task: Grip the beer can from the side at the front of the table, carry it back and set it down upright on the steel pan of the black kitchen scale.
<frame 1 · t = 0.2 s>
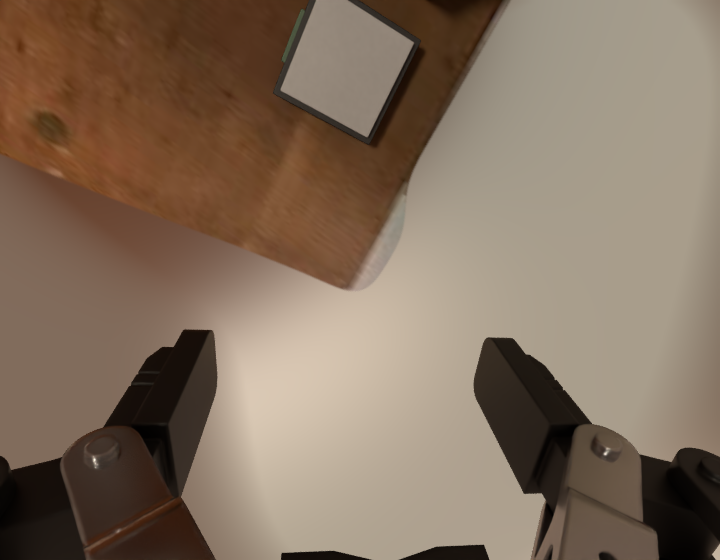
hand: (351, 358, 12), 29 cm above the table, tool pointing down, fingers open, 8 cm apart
kitchen scale: (344, 68, 35), on the table
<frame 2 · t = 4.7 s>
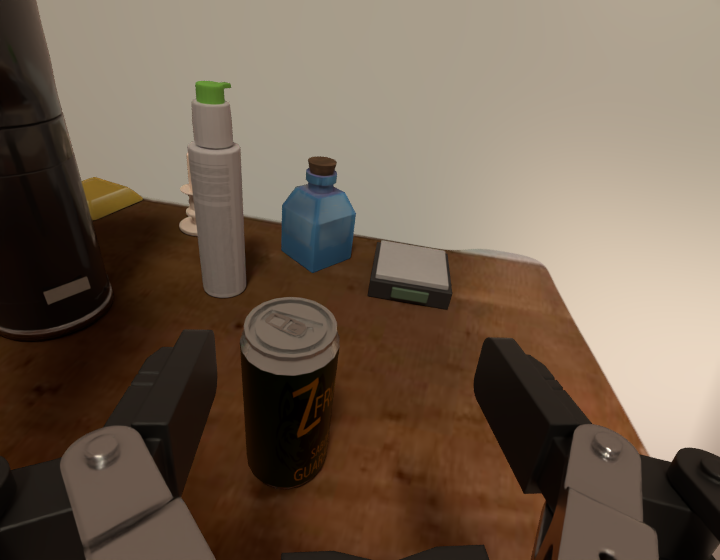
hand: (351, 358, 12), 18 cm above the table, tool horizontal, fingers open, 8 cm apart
beer can: (287, 457, 28), on the table
kitchen scale: (408, 281, 49), on the table
candle: (201, 228, 54), on the table
perfume bottle: (316, 255, 51), on the table
bottle: (225, 287, 44), on the table
yellow flat block: (91, 186, 55), point 2 cm above the table
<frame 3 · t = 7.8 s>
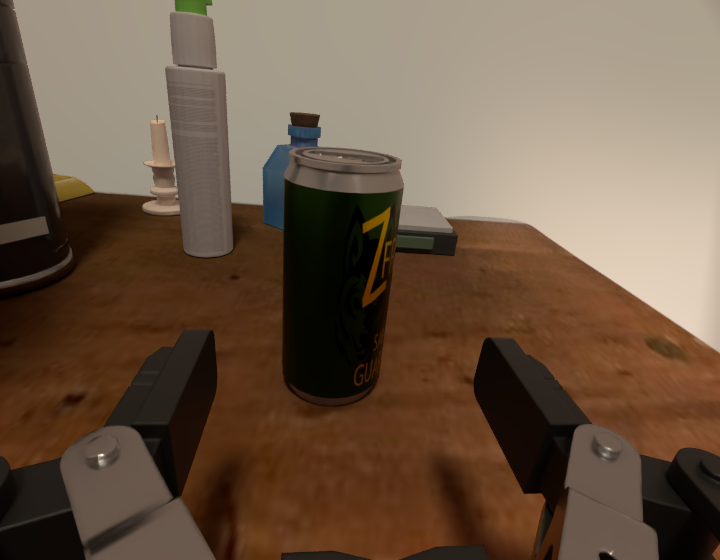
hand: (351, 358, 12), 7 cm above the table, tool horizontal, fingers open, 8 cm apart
beer can: (330, 378, 23), on the table
kitchen scale: (405, 238, 46), on the table
candle: (167, 211, 48), on the table
perfume bottle: (301, 225, 47), on the table
bottle: (209, 251, 38), on the table
yellow flat block: (31, 176, 47), point 2 cm above the table
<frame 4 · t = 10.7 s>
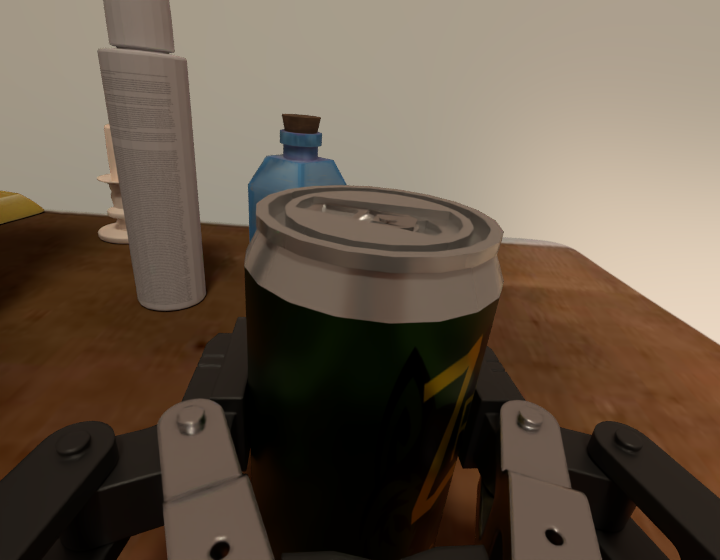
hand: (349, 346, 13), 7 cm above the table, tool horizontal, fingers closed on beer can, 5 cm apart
candle: (131, 236, 39), on the table
perfume bottle: (298, 255, 38), on the table
bottle: (173, 298, 29), on the table
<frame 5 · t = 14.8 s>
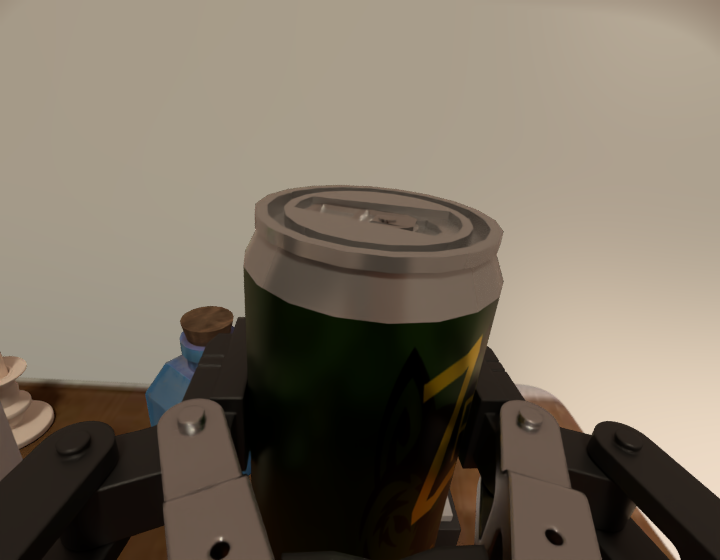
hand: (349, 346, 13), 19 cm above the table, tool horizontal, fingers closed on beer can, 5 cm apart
kitchen scale: (377, 487, 29), on the table
candle: (13, 430, 31), on the table
perfume bottle: (219, 456, 31), on the table
when the fingers open (10 cm above the table, at t = 19.3 s): beer can stays where it is, resting on kitchen scale.
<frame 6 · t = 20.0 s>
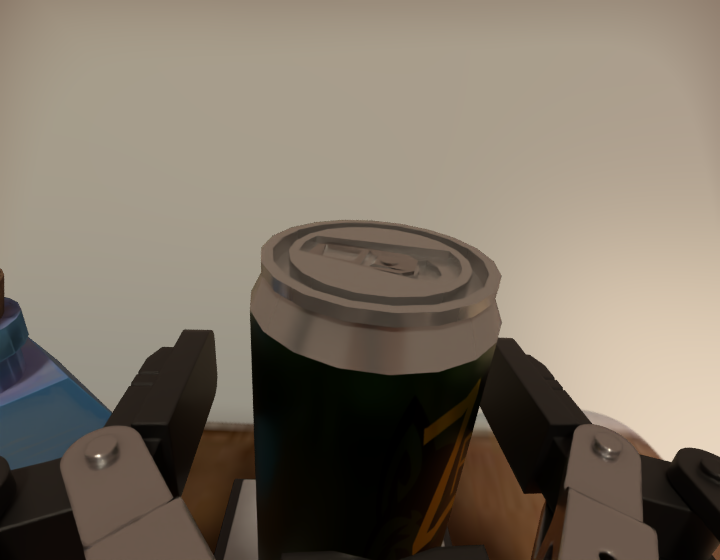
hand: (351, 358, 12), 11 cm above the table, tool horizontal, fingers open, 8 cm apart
perfume bottle: (38, 556, 16), on the table
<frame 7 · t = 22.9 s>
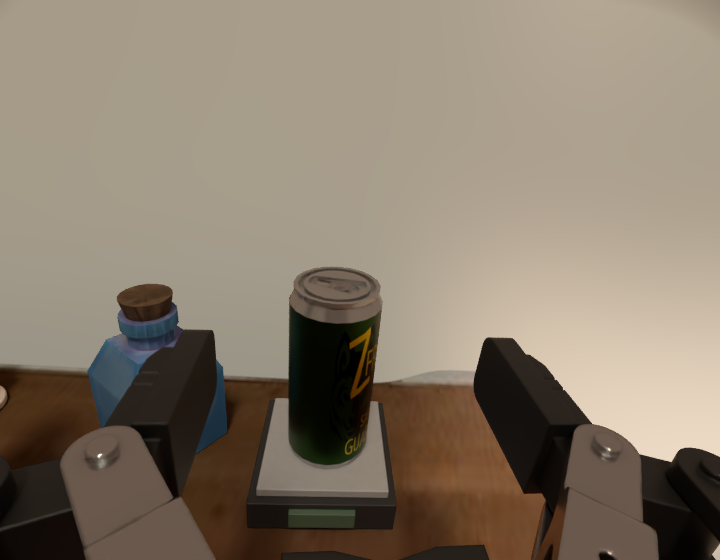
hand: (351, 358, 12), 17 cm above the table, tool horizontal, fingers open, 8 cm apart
beer can: (327, 442, 28), point 3 cm above the table, touching kitchen scale
kitchen scale: (323, 467, 29), on the table
perfume bottle: (167, 437, 31), on the table
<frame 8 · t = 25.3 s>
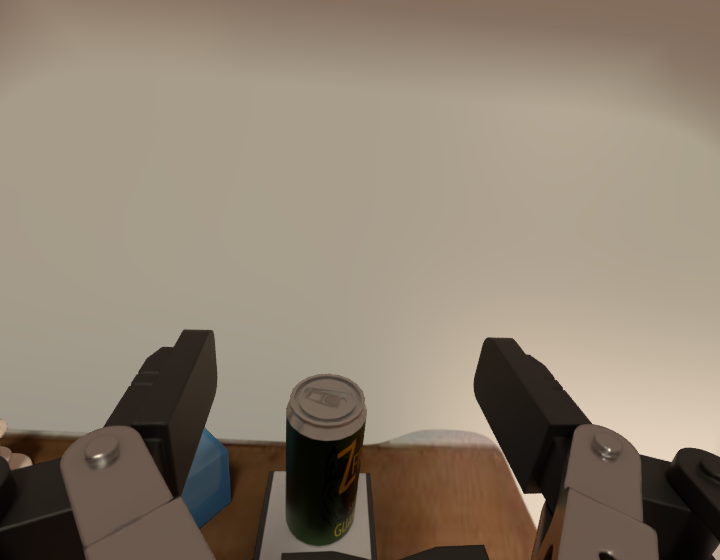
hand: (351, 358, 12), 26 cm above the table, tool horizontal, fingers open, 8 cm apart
beer can: (319, 518, 32), point 3 cm above the table, touching kitchen scale
kitchen scale: (316, 538, 33), on the table
perfume bottle: (177, 507, 34), on the table
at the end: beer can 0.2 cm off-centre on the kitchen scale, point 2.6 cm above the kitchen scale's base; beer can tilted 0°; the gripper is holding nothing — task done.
